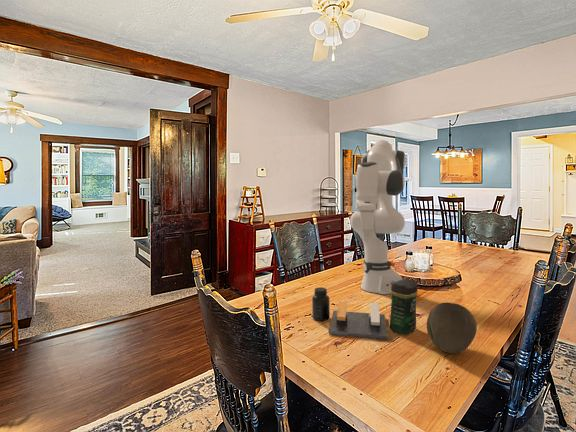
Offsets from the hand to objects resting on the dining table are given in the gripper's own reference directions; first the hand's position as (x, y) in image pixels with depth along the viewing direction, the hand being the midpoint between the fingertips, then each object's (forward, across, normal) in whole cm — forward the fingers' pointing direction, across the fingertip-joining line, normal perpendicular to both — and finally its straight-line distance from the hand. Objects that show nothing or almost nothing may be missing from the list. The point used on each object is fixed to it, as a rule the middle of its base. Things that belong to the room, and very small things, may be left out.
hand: (366, 239), depth 129 cm
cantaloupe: (+31, +22, +26) cm, 47 cm away
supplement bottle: (+31, +7, -17) cm, 36 cm away
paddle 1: (+27, +11, -9) cm, 30 cm away
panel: (+31, +11, -3) cm, 33 cm away
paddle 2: (+27, +11, +3) cm, 29 cm away
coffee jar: (+31, +11, +13) cm, 36 cm away
